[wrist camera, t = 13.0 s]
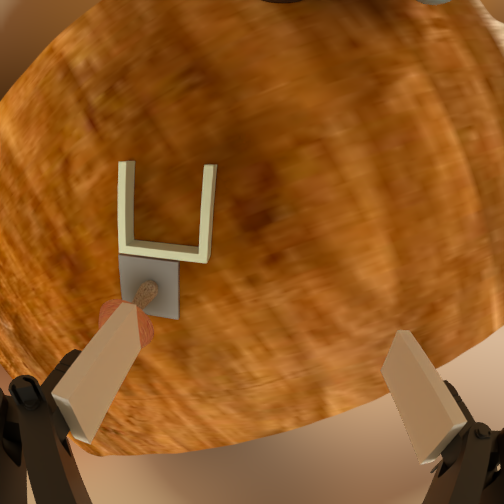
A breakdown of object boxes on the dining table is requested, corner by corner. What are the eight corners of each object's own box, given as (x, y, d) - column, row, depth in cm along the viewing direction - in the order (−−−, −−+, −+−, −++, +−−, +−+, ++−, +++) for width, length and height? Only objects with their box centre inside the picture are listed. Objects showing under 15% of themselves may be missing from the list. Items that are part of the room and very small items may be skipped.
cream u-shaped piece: (127, 160, 38) (118, 161, 36) (217, 164, 38) (213, 165, 36) (127, 246, 43) (119, 252, 40) (210, 255, 43) (206, 263, 40)
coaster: (120, 253, 43) (118, 255, 42) (179, 260, 43) (178, 262, 42) (125, 307, 46) (123, 310, 46) (179, 317, 46) (178, 319, 46)
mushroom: (133, 308, 46) (95, 368, 32) (122, 265, 43) (74, 319, 29) (177, 309, 45) (149, 375, 31) (168, 264, 42) (130, 323, 28)
